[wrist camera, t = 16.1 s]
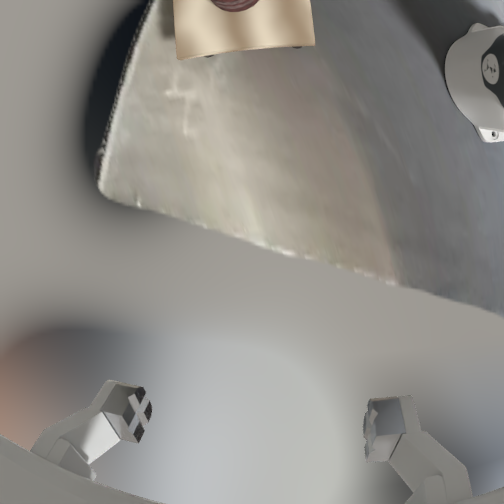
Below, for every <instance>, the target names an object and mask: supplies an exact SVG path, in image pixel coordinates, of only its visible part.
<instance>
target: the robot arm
mask: <svg viewBox="0 0 504 504" xmlns="http://www.w3.org/2000/svg"><path fill="white" fill-rule="evenodd" d="M445 77H446V82H447V86H448V89H449V92H450V95H451V97H452V99H453V101H454V102H455V104H456V106H457V107H458V108H459V110H460V111H461V112H462V113H463V114H464V116H466V117H467V118H468V119H469V120H470V121H471V122H472V123H473V125H474V126H475V128H476V130H477V133H478V135H479V136H480V138H481V139H482V141H484V142H498V141H504V26H495V27H490V28H489V27H487V26H485V25H483V24H480V23H475V24H473V25H472V26H471V27H470V29H469V31H468V33H467V34H466V35H465V36H463V37H462V38H460V39H458V40H457V41H455V42H454V43H453V44H452V46H451V47H450V49H449V51H448V53H447V56H446V61H445ZM492 132H493V133H494V135H493V136H492ZM145 394H146V391H145V389H144V388H143V387H141V386H136V385H131V384H126V383H122V382H117V381H113V380H108V381H106V382H105V383H104V385H103V386H102V388H101V390H100V391H99V393H98V394H97V396H96V397H95V399H94V400H93V402H92V404H91V405H90V407H89V408H88V407H85V408H84V409H82V410H80V411H78V412H76V413H74V414H73V415H71V416H69V417H67V418H65V419H63V420H61V421H60V422H58V423H56V424H54V425H52V426H50V427H48V428H46V429H45V430H43V432H42V433H41V435H40V437H39V438H38V440H37V441H36V443H35V444H34V446H33V447H32V449H31V450H30V451H29V450H27V449H25V448H23V447H21V446H19V445H18V444H16V443H14V442H12V441H11V440H9V439H8V438H6V437H4V436H3V435H1V434H0V504H164V503H160V502H157V501H153V500H149V499H146V498H142V497H139V496H136V495H132V494H129V493H126V492H123V491H120V490H117V489H114V488H111V487H109V486H106V485H103V484H100V483H98V482H95V481H94V479H95V477H96V472H95V471H94V470H93V469H92V468H91V467H90V465H89V464H90V463H91V462H93V461H94V460H95V459H97V458H98V457H99V456H101V455H102V454H103V453H104V452H106V451H107V450H108V449H110V448H111V447H112V446H114V445H115V444H116V443H117V442H119V441H120V439H122V440H127V441H130V442H135V443H139V442H140V440H141V437H142V436H143V433H144V427H143V426H144V425H145V424H146V423H148V422H149V420H150V418H151V413H152V405H151V402H150V400H149V399H147V398H146V397H145ZM367 406H368V411H367V412H366V413H365V416H364V422H363V434H364V438H365V439H366V440H367V441H366V444H365V458H366V462H379V461H389V463H390V464H391V465H392V467H393V468H394V469H395V470H396V471H397V473H398V474H399V475H400V477H401V478H402V479H403V480H404V481H405V483H406V484H407V485H408V486H409V488H410V489H411V490H412V491H413V495H412V496H411V497H410V498H409V499H408V500H407V501H406V503H405V504H504V487H502V488H499V489H496V490H494V491H491V492H488V493H485V494H482V495H479V496H476V497H473V495H472V490H471V486H470V481H469V478H468V473H467V469H466V467H465V466H464V465H463V464H462V463H461V462H460V461H458V460H457V459H456V458H455V457H454V456H453V455H452V454H450V453H449V452H448V451H447V450H446V449H445V448H444V447H442V446H441V445H440V444H439V443H438V442H437V441H436V440H435V439H434V438H432V437H431V436H430V435H429V434H428V433H427V432H426V431H421V428H420V424H419V420H418V416H417V412H416V408H415V404H414V400H413V397H412V396H411V395H408V396H398V397H386V398H374V399H369V401H368V405H367Z"/></svg>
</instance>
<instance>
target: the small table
mask: <svg viewBox="0 0 504 504" xmlns="http://www.w3.org/2000/svg"><path fill="white" fill-rule="evenodd" d="M173 9H174V26H175V40H176V53H177V59H178V60H185V59H190V58H195V57H201V56H204V57H211V56H213V55H214V54H220V53H227V52H234V51H243V50H252V49H262V48H275V47H291V46H292V47H293V48H301V47H302V46H315V37H314V29H313V20H312V12H311V5H310V0H259V1H258V2H257V3H256V4H255V5H254V6H253V7H251V8H249V9H247V10H244V11H240V12H228V11H224V10H221V9H220V8H218V7H217V6H215V4H214V3H213V2H212V1H211V0H173Z"/></svg>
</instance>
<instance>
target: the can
mask: <svg viewBox="0 0 504 504" xmlns="http://www.w3.org/2000/svg"><path fill="white" fill-rule="evenodd" d="M211 1H212V2H213V3H214V4H215V6H217V7H218V8H220V9H221V10H224V11H228V12H240V11H244V10H247V9H249V8H251V7H253V6H254V5H255V4H256V3H257V2H258V1H259V0H211Z"/></svg>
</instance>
